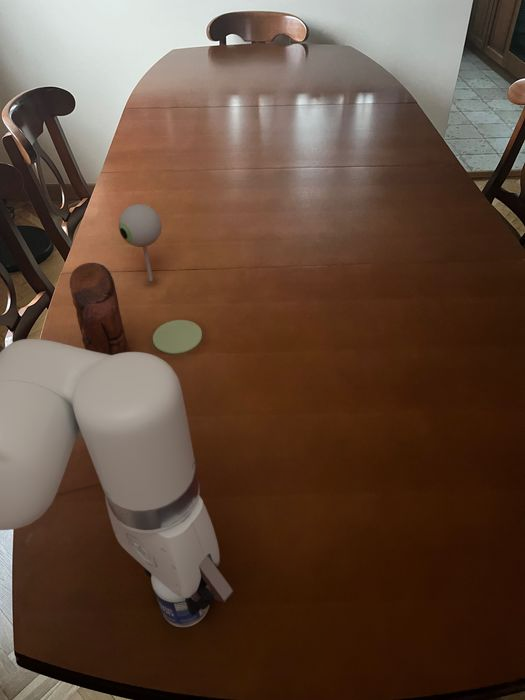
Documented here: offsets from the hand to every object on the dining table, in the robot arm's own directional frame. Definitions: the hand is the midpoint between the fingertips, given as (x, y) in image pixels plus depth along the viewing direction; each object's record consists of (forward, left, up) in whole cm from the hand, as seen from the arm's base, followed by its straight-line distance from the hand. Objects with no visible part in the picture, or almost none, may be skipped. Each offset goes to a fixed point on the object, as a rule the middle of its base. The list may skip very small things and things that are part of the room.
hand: (180, 583), depth 61 cm
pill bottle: (0, 0, -5) cm, 5 cm away
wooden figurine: (+19, +35, -5) cm, 40 cm away
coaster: (+30, +32, -5) cm, 44 cm away
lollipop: (+38, +47, -5) cm, 61 cm away
